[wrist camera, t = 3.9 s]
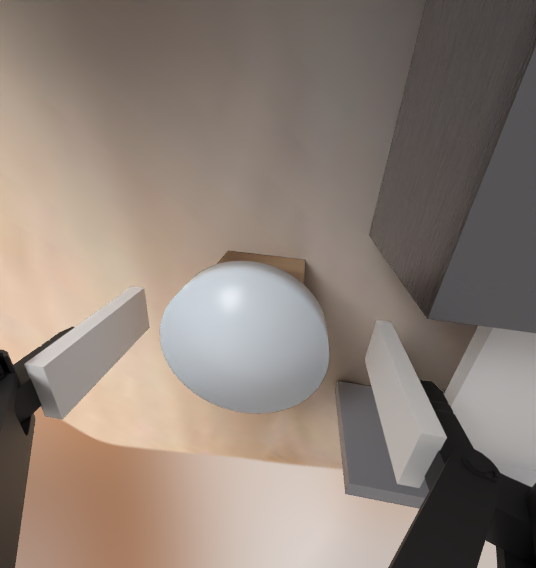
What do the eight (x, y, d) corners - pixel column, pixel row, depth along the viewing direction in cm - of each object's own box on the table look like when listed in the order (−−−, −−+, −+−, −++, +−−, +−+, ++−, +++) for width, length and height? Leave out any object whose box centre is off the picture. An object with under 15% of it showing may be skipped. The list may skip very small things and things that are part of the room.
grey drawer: (334, 392, 21) (344, 496, 15) (375, 228, 16) (421, 282, 9) (550, 427, 20) (665, 559, 13) (686, 261, 14) (1002, 353, 8)
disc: (180, 377, 16) (167, 399, 15) (168, 251, 13) (150, 263, 11) (314, 400, 16) (314, 425, 14) (341, 272, 12) (345, 288, 11)
